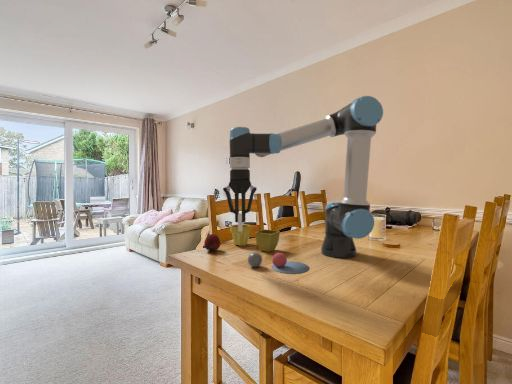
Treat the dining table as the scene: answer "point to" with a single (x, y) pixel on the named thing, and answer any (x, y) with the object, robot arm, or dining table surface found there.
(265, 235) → the flower pot
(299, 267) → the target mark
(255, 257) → the blue-grey ball
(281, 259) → the object ball
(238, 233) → the plant pot
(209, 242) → the dark red bumpy ball
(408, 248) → the dining table surface
